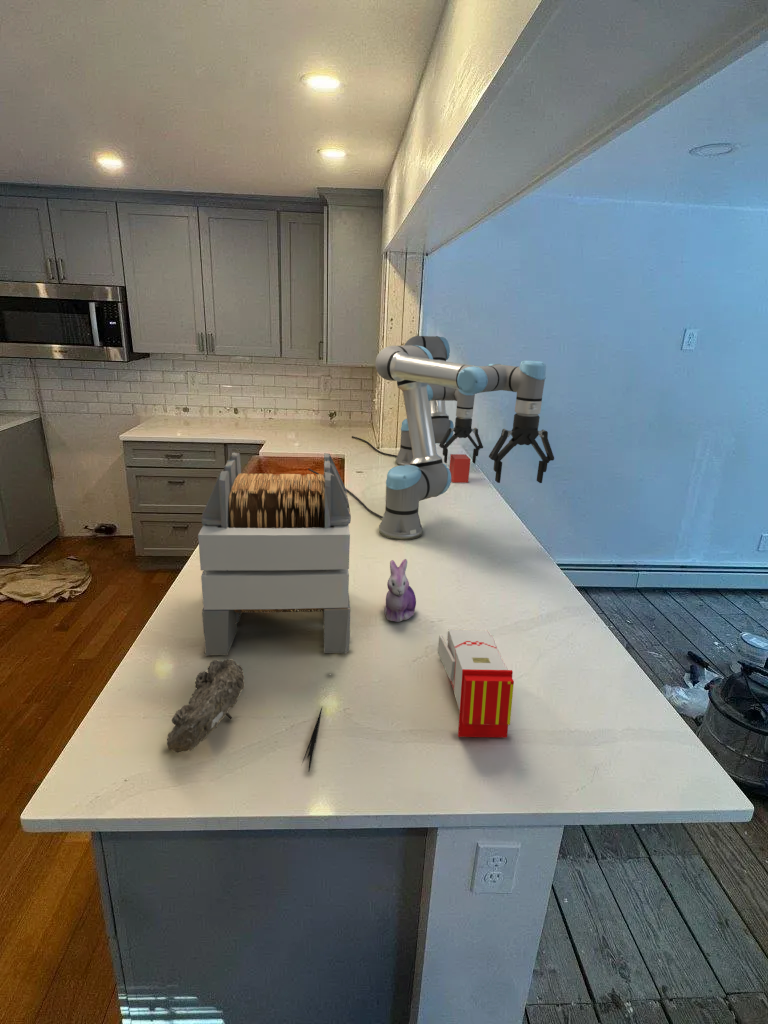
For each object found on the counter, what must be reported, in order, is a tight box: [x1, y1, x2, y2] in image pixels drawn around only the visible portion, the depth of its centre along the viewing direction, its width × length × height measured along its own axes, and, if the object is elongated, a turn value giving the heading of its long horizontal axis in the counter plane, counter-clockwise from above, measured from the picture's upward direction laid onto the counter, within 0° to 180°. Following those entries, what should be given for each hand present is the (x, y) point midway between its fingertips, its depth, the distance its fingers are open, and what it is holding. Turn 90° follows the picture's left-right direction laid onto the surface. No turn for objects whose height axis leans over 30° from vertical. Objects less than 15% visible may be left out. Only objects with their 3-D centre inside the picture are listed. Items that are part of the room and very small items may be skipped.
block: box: [448, 453, 472, 484], centre depth 265 cm, size 7×9×11 cm
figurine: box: [384, 558, 417, 623], centre depth 145 cm, size 9×10×15 cm
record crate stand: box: [197, 451, 352, 657], centre depth 136 cm, size 34×33×41 cm
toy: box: [437, 628, 515, 738], centre depth 117 cm, size 12×13×30 cm
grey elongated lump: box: [166, 658, 245, 754], centre depth 106 cm, size 22×10×15 cm
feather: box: [301, 673, 332, 771], centre depth 108 cm, size 2×28×2 cm
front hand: (518, 481), depth 178 cm, fingers open, 13 cm apart
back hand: (459, 462), depth 265 cm, fingers open, 13 cm apart
